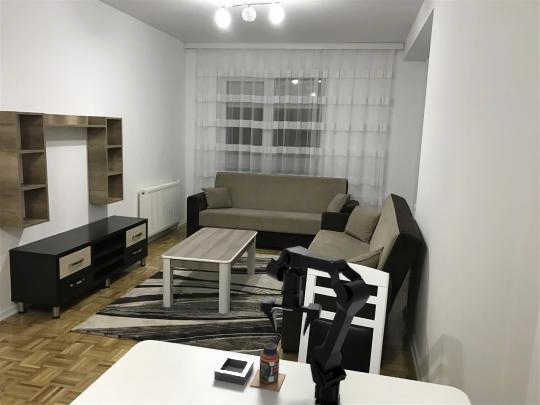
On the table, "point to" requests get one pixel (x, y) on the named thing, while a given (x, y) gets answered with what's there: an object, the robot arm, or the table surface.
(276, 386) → the pad
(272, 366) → the supplement bottle
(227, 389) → the table surface
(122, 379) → the table surface
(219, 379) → the collar
